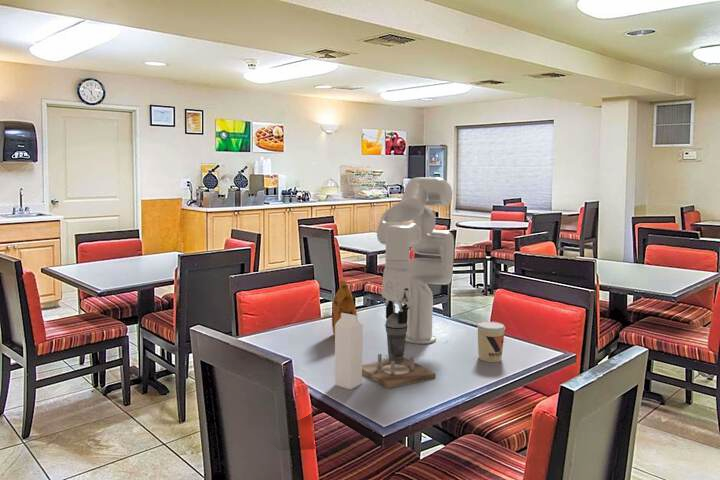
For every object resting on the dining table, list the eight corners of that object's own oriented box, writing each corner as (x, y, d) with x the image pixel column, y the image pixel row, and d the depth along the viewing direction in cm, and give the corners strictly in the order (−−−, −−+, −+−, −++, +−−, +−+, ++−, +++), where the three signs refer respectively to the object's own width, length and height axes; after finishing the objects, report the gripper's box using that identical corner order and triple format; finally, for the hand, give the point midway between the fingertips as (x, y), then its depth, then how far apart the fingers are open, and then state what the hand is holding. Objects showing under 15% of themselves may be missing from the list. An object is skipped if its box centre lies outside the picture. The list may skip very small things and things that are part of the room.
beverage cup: (405, 365, 178) (406, 302, 175) (382, 363, 179) (383, 301, 176) (408, 357, 185) (409, 297, 182) (386, 356, 186) (387, 296, 184)
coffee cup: (488, 364, 192) (489, 330, 190) (470, 356, 200) (471, 323, 198) (509, 360, 196) (510, 326, 194) (491, 352, 204) (492, 320, 203)
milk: (346, 379, 178) (347, 310, 175) (362, 384, 174) (363, 313, 171) (334, 385, 173) (334, 314, 170) (350, 390, 169) (350, 317, 166)
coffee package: (332, 343, 214) (332, 285, 211) (331, 333, 226) (331, 279, 224) (359, 342, 215) (359, 285, 212) (356, 333, 227) (356, 278, 224)
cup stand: (357, 370, 185) (357, 352, 185) (402, 361, 195) (402, 344, 194) (387, 388, 170) (388, 369, 169) (435, 377, 179) (435, 359, 179)
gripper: (372, 261, 183) (371, 316, 186) (403, 270, 169) (402, 329, 171) (391, 259, 187) (391, 313, 189) (423, 267, 172) (422, 325, 175)
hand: (396, 320), depth 180 cm, fingers closed on beverage cup, 6 cm apart
